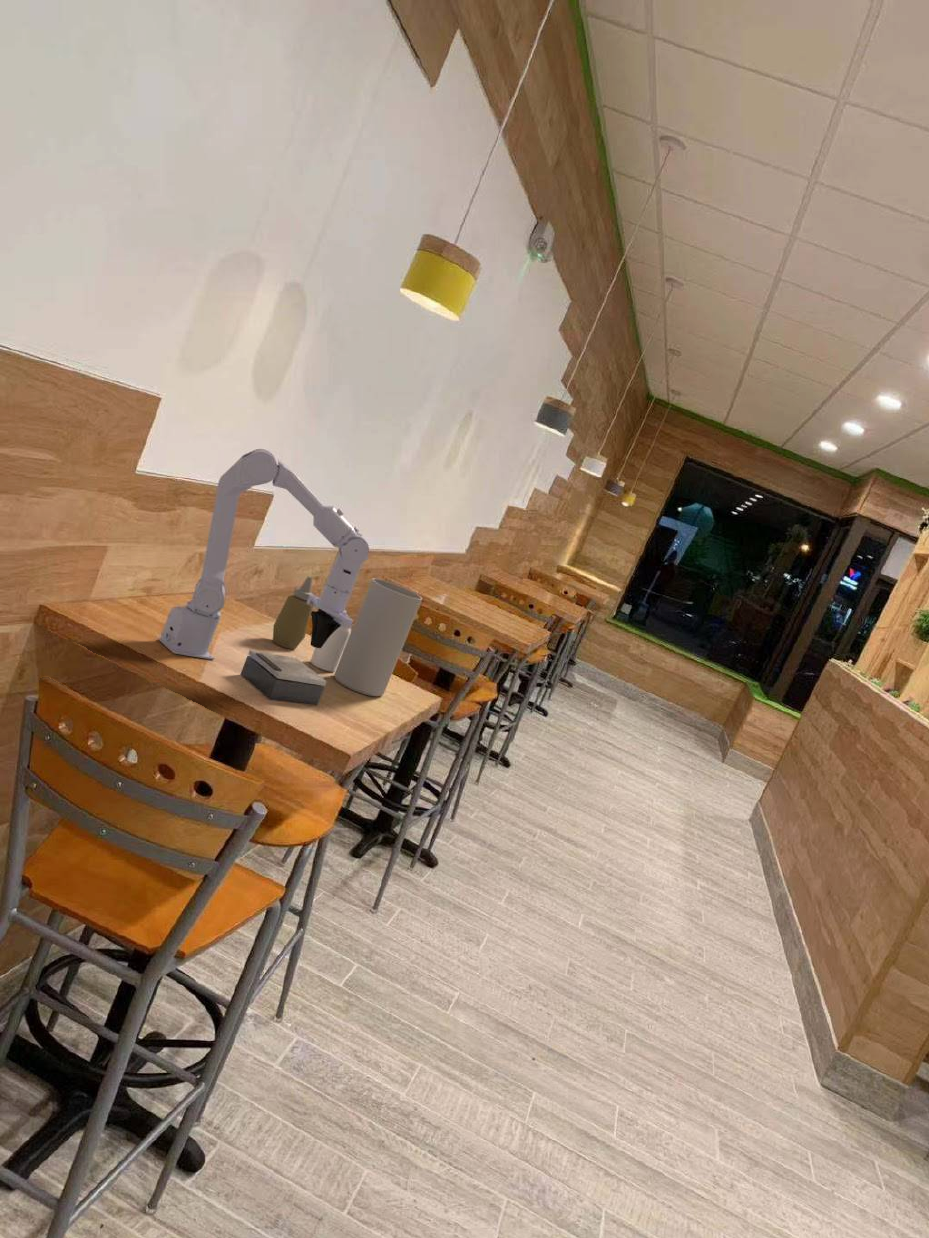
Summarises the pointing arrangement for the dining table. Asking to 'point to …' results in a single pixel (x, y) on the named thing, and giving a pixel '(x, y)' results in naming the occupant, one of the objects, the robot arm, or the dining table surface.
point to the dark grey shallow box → (280, 685)
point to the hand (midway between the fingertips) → (315, 646)
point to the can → (331, 650)
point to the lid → (287, 668)
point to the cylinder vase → (377, 637)
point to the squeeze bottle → (294, 618)
